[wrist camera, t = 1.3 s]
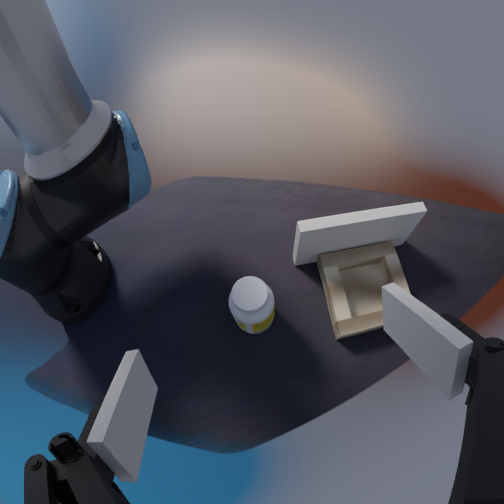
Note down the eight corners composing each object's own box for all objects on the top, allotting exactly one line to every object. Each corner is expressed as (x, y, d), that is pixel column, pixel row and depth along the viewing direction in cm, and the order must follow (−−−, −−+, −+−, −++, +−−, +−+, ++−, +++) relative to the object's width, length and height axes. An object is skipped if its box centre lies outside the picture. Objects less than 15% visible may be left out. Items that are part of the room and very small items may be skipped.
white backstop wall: (402, 244, 44) (427, 210, 35) (294, 265, 44) (300, 232, 35) (398, 236, 45) (422, 201, 36) (292, 256, 45) (297, 221, 36)
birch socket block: (408, 319, 39) (416, 314, 37) (336, 339, 39) (340, 336, 36) (385, 249, 44) (392, 240, 42) (316, 263, 44) (319, 254, 41)
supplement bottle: (277, 300, 42) (279, 275, 33) (269, 338, 40) (269, 322, 31) (240, 293, 43) (231, 265, 34) (230, 329, 41) (218, 312, 32)
